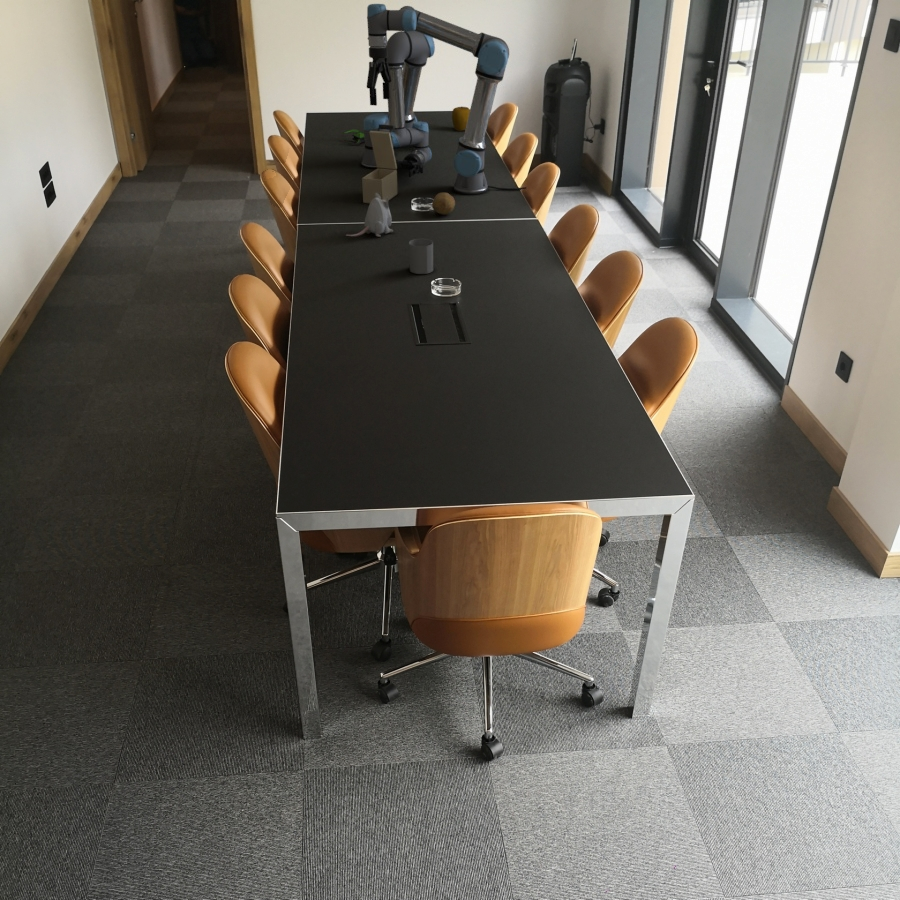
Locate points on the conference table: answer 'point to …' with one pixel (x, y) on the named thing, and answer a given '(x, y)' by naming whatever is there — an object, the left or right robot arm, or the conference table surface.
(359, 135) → the green dinosaur
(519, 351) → the conference table surface
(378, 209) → the toy
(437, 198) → the potato
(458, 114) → the apple
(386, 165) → the lid
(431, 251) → the cup
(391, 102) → the left robot arm
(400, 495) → the conference table surface
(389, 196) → the chest
